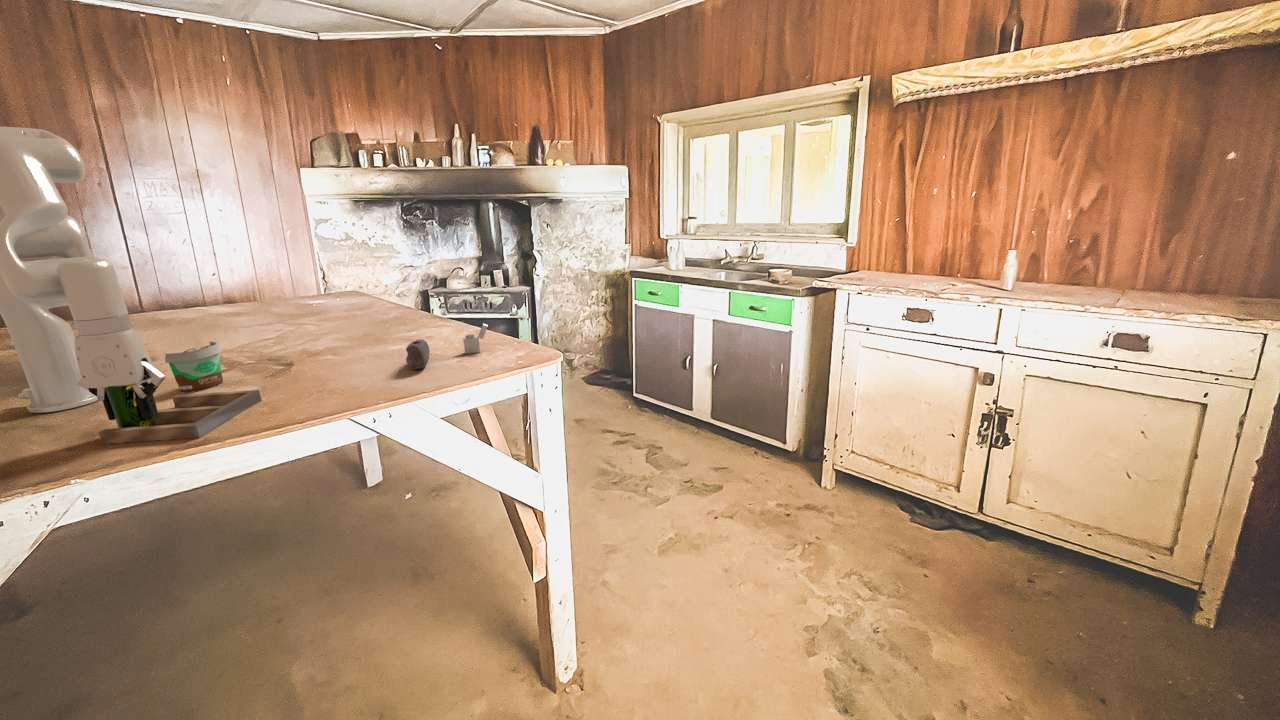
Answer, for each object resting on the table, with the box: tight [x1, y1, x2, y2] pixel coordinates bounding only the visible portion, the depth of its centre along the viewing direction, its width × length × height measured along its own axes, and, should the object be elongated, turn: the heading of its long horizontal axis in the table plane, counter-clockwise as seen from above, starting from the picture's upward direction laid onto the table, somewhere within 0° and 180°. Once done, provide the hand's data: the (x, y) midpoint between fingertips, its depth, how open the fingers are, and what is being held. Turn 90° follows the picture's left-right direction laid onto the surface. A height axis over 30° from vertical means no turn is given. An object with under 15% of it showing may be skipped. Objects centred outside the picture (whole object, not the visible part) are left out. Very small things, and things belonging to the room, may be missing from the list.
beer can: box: [105, 384, 157, 428], centre depth 108 cm, size 5×5×12 cm
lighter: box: [462, 322, 489, 355], centre depth 157 cm, size 7×2×8 cm, turn 106°
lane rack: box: [98, 389, 262, 445], centre depth 114 cm, size 18×20×2 cm
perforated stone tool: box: [405, 338, 430, 370], centre depth 147 cm, size 15×5×7 cm, turn 11°
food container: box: [164, 341, 224, 393], centre depth 135 cm, size 12×6×10 cm, turn 168°
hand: (133, 415), depth 108 cm, fingers closed on beer can, 5 cm apart
